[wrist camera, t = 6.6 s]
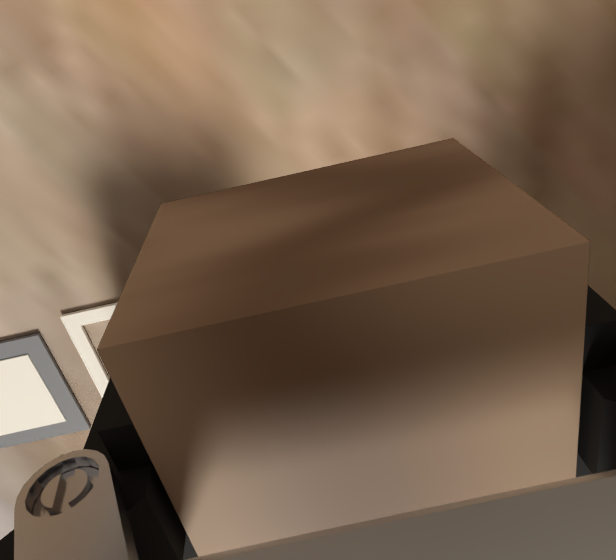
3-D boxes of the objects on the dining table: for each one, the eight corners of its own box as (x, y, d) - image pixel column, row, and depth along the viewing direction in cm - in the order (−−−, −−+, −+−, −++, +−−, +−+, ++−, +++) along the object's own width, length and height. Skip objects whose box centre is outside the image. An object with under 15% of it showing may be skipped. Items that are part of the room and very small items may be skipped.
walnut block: (453, 137, 11) (589, 240, 6) (469, 370, 14) (571, 551, 9) (161, 203, 11) (96, 349, 6) (238, 420, 14) (230, 623, 9)
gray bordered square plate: (39, 332, 37) (37, 335, 37) (91, 426, 41) (89, 429, 41) (-87, 360, 37) (-90, 364, 37) (-22, 450, 42) (-25, 454, 41)
